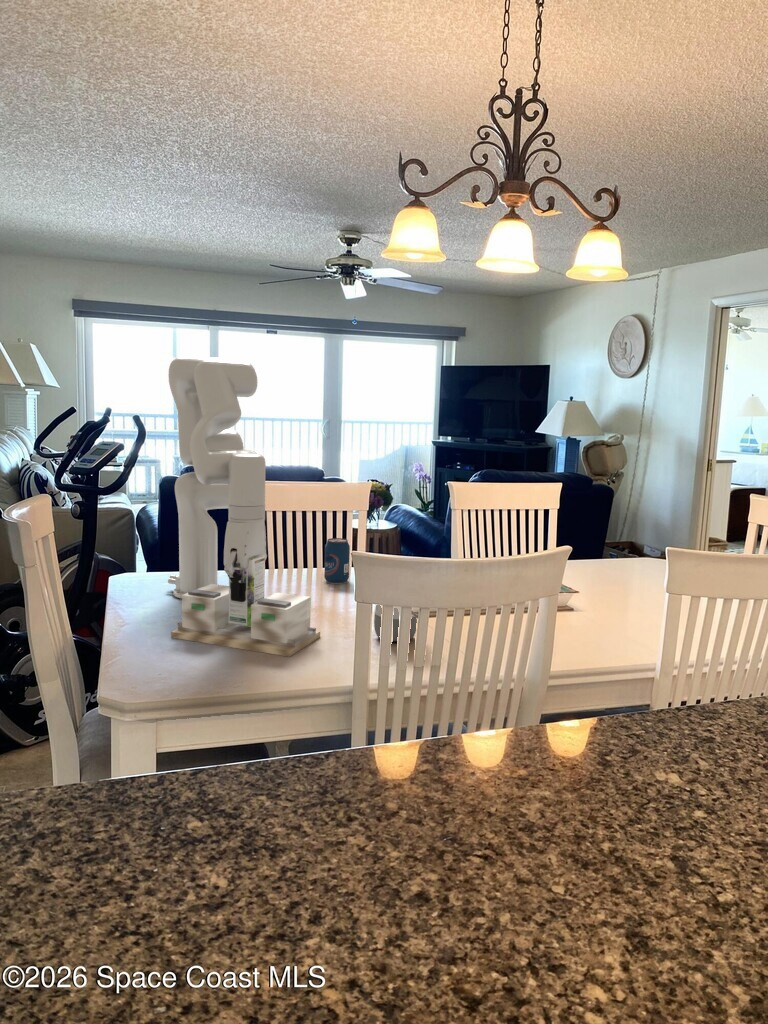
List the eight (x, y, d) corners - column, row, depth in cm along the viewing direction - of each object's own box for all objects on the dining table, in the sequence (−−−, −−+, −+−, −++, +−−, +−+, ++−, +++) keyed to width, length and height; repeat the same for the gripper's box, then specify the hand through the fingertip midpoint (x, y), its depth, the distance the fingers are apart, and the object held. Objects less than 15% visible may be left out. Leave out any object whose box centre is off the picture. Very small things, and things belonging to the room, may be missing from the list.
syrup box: (227, 623, 155) (227, 556, 153) (242, 616, 160) (242, 551, 158) (251, 627, 153) (251, 559, 151) (265, 619, 159) (265, 553, 156)
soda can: (319, 581, 207) (320, 539, 206) (334, 577, 213) (335, 536, 211) (338, 585, 203) (339, 543, 202) (353, 581, 209) (354, 539, 207)
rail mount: (171, 637, 155) (170, 593, 154) (208, 620, 168) (208, 579, 167) (289, 656, 146) (290, 609, 144) (320, 636, 159) (321, 593, 157)
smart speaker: (422, 644, 156) (425, 579, 154) (380, 646, 153) (382, 581, 151) (408, 630, 165) (410, 569, 163) (368, 633, 162) (370, 571, 160)
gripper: (252, 506, 162) (251, 586, 165) (207, 517, 146) (208, 605, 149) (282, 509, 160) (281, 590, 163) (240, 520, 144) (240, 609, 147)
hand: (246, 596), depth 156 cm, fingers closed on syrup box, 5 cm apart
